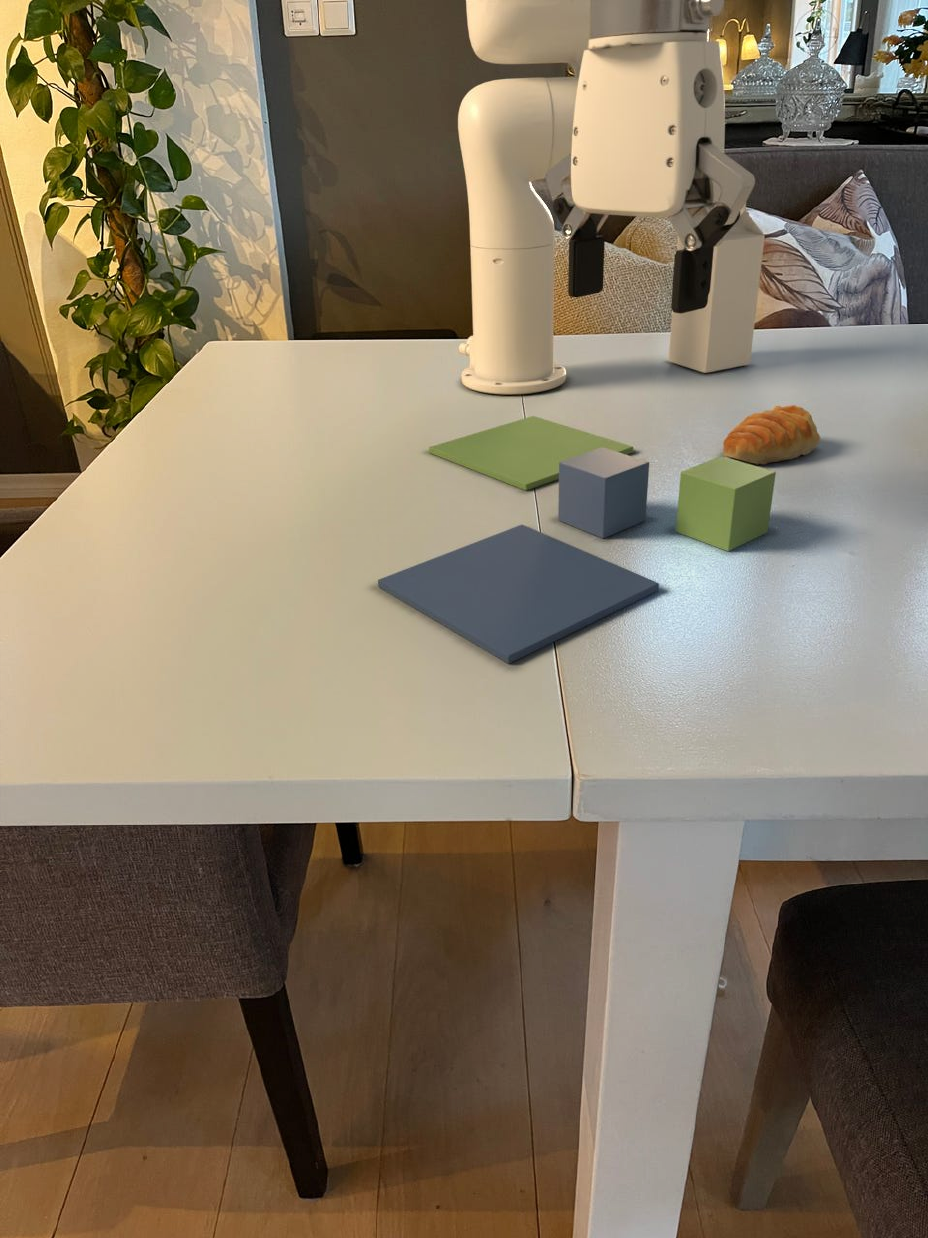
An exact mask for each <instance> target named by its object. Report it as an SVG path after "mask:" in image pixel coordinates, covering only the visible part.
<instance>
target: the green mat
mask: <svg viewBox="0 0 928 1238" xmlns="http://www.w3.org/2000/svg"><path fill="white" fill-rule="evenodd" d="M602 447H603V448H606V449H610V450H613V451H616V452H619V453H622V454H625V455H630V454H632V453H634V446H632V445H629V444H626V443H623V442H619V441H616V440H613V439H610V438H607V437H603V436H600V435H596V434H594V433H590V432H587V431H584V430H580V429H577V428H574V427H570V426H567V425H564V424H562V423H558V422H554V421H551V420H548V419H544V418H542V417H538V416H535V415H532V416H528V417H525V418H522V419H518V420H515V421H511V422H508V423H505V424H501V425H498V426H494V427H492V428H487V429H485V430H482V431H479V432H475V433H472V434H469V435H465V436H461V437H458V438H454V439H452V440H449V441H445V442H442V443H438V444H436V445H431V446H429V447H428V453H429V454H431V455H434V456H437V457H439V458H441V459H443V460H446V461H450V462H452V463H455V464H457V465H459V466H462V467H465V468H467V469H470V470H472V471H475V472H478V473H480V474H483V475H486V476H487V477H490V478H493V479H495V480H498V481H500V482H503V483H506V484H508V485H511V486H513V487H516V488H518V489H521V490H523V491H526V492H527V491H530V490H532V489H535V488H538V487H540V486H542V485H546V484H549V483H552V482H554V481H558V480H559V462H561V461H564V460H567V459H570V458H573V457H576V456H579V455H582V454H585V453H587V452H590V451H593V450H596V449H599V448H602Z"/></svg>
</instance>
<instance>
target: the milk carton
mask: <svg viewBox="0 0 928 1238" xmlns="http://www.w3.org/2000/svg"><path fill="white" fill-rule="evenodd" d="M716 206H717V205H716ZM716 206H715V207H716ZM746 207H747V202H746V203H745V205H744V207H743V209H741V210H740V218H739V220H738V221H737V222H736V224H735V225H734V226H733V227H732V228H731V229H730V230H729V231H728V232H727V233H726V234H725V235H724V237H723V241H722V243H721V244H720V245H719V246H716V247H714V252H713V263H712V275H711V286H710V292H709V295H708V303H707V305H706V307H705V308H702V309H698V310H694V311H690V312H686V313H682V314H680V313H674V312H673V310H672V309H671V323H670V335H669V336H670V337H669V348H668V350H669V351H668V362H670V363H673V364H675V365H678V366H682V367H685V368H688V369H692V370H694V371H697V372H701V373H705V374H707V373H713V372H718V371H722V370H728V369H734V368H737V367H743V366H747V365H750V364H751V357H752V356H751V355H752V349H753V340H754V332H755V323H756V314H757V306H758V297H759V288H760V281H761V272H762V262H763V255H764V248H765V246H764V245H765V238H766V237H765V236H766V235H765V234H764V232H763V231H762V230H761V229H760V227H759V226H758V224H757V223H756V222H755V221H754V220H753V218H752V217H751V216H750V214H749V213H748V212H747V211H746V209H747V208H746ZM712 209H713V208H712ZM712 209H711V210H712ZM682 249H684V246H683V244H682V242H681V240H680V238H679V236H678V235H677V241H676V251H677V250H682Z"/></svg>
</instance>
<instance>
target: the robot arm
mask: <svg viewBox="0 0 928 1238" xmlns="http://www.w3.org/2000/svg"><path fill="white" fill-rule="evenodd" d="M724 5H725V0H465V6H466V9H465V10H466V22H467V30H468V31H467V32H468V37H469V41H470V45H471V48H472V50H473V52H474V54H475V56H476V57H478V59H480V60H482V61H483V62H487V63H490V64H497V65H531V64H532V65H534V64H535V65H536V64H560V63H561V64H562V63H564V64H568V65H570V67H571V68H572V70H573V73H574V76H558V77H557V76H556V77H540V76H539V77H538V76H537V77H514V78H502V79H494V80H490V81H485V82H483V83H481V84H478V85H476V86H474V87H473V88H471V89H470V90H469V91H468V92H467V93H466V95H464V97H463V98H462V101H461V103H460V105H459V110H458V115H457V130H458V139H459V146H460V151H461V157H462V163H463V170H464V175H465V183H466V192H467V203H468V217H469V218H468V219H469V241H470V242H469V244H470V276H471V307H472V308H471V309H472V310H471V311H472V335H470V336H469V337H467V340H466V343H465V342H462V343H460V344H459V346H458V352H459V354H461V355H463V356H469V366H467V367H466V368H465V369H463V370H462V372H461V383H462V385H463V386H465V387H466V388H467V389H469V390H472V391H476V392H480V393H485V394H494V395H527V394H536V393H541V392H546V391H549V390H553V389H557V388H558V387H560V386H562V385H563V384H564V383H565V382H566V380H567V370H566V368H565V367H564V366H562V365H561V364H558V363H556V362H554V325H555V323H554V322H555V321H554V316H555V314H554V313H555V311H554V310H555V241H556V237H555V235H556V232H555V223H554V219H553V215H552V213H551V211H550V209H549V208H548V206H547V205H546V203H545V202H544V201H543V200H542V198H541V197H540V195H538V193H537V192H536V190H535V188H534V187H533V186H532V182H533V181H536V180H544V179H545V182H546V186H547V189H548V192H549V195H550V198H551V201H553V202H552V211H553V214H554V215H555V216H556V218H557V219H558V221H559V223H560V224H561V234H562V235H561V236H562V237H563V238H564V239H565V240H568V274H567V275H568V276H567V277H568V278H567V281H568V283H567V286H568V287H567V294H568V296H569V297H570V298H580V297H586V296H591V295H594V294H599V293H601V292H602V291H603V289H604V278H605V277H604V276H605V275H604V274H605V271H604V270H605V245H606V243H605V236H604V235H598V233H599V231H600V230H601V229H602V227H603V225H604V223H605V222H606V220H607V219H608V218H609V216H610V215H611V216H623V217H624V216H626V217H641V218H668V220H670V223H671V225H672V227H673V229H674V231H675V233H676V234H677V237H678V236H679V238H680V240H681V242H682V244H683V246H684V249H682V250H677V249H676V250H675V254H674V259H673V273H672V274H673V275H672V286H671V287H672V288H671V304H670V308H671V311H672V310H673V312H674V313H680V314H682V313H686V312H690V311H694V310H698V309H702V308H705V307H706V305H707V303H708V295H709V292H710V286H711V275H712V263H713V252H714V247H716V246H719V245H720V244H721V243H722V241H723V237H724V235H725V234H726V233H727V232H728V231H729V230H730V229H731V228H732V227H733V226H734V225H735V224H736V222H737V221H738V220H739V218H740V210H741V209H743V207H744V205H745V203H746V204H747V201H748V199H749V197H750V195H751V193H752V192H753V190H754V187H755V184H756V178H755V175H754V174H753V173H752V172H750V171H749V170H747V169H746V168H745V167H743V166H742V165H741V164H740V163H738V162H737V161H735V160H734V159H733V158H731V157H730V156H729V155H727V154H726V153H725V135H726V133H725V132H726V105H725V104H726V103H725V102H726V101H725V100H726V99H725V84H724V83H725V82H724V71H723V62H722V54H721V48H720V41H716V40H709V32H710V22H711V17H717V16H719V15H720V14H721V13H722V11H723V9H724ZM716 205H717V206H716ZM715 206H716V207H715ZM712 208H713V209H712ZM711 209H712V210H711Z"/></svg>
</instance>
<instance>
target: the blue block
mask: <svg viewBox="0 0 928 1238" xmlns="http://www.w3.org/2000/svg"><path fill="white" fill-rule="evenodd" d="M649 474H650V461H647V460H644V459H641V458H637V457H635V456H631V455H629V454H627V455H625V454H622V453H619V452H616V451H613V450H610V449H606V448H603V447H602V448H599V449H596V450H593V451H590V452H587V453H585V454H582V455H579V456H576V457H573V458H570V459H567V460H564V461H561V462H559V479H558V509H557V510H558V513H557V514H558V516H557V520H558V521H559V522H561V523H564V524H566V525H569V526H571V527H573V528H576V529H579V530H581V531H584V532H586V533H589V534H591V535H593V536H596V537H598V538H600V539H606V538H608V537H610V536H613V535H615V534H617V533H620V532H622V531H625V530H627V529H629V528H632V527H634V526H637V525H639V524H641V523H643V522H646V518H647V503H648V491H649V490H648V489H649V476H650V475H649Z"/></svg>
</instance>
